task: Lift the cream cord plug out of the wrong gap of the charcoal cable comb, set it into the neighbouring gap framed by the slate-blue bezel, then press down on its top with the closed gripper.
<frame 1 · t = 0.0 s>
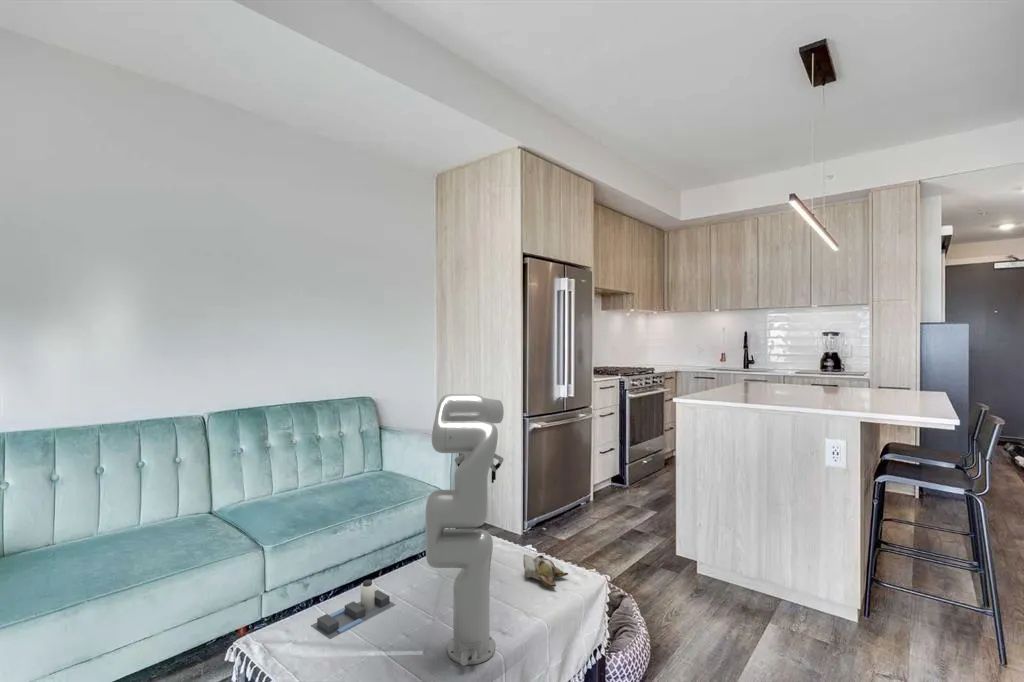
hand: (479, 481, 174), 31 cm above the table, fingers open, 9 cm apart
cord plug: (367, 608, 147), point 1 cm above the table, touching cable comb
ceramic sculpture: (542, 581, 167), on the table
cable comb: (354, 618, 144), on the table
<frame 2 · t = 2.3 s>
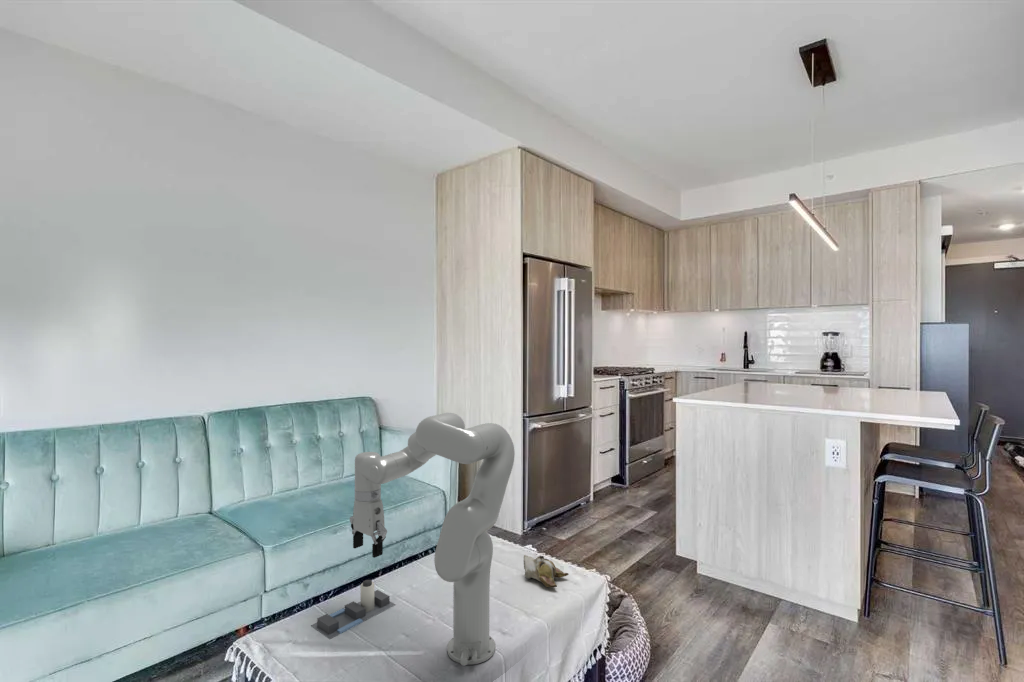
hand: (367, 551, 147), 18 cm above the table, fingers open, 9 cm apart
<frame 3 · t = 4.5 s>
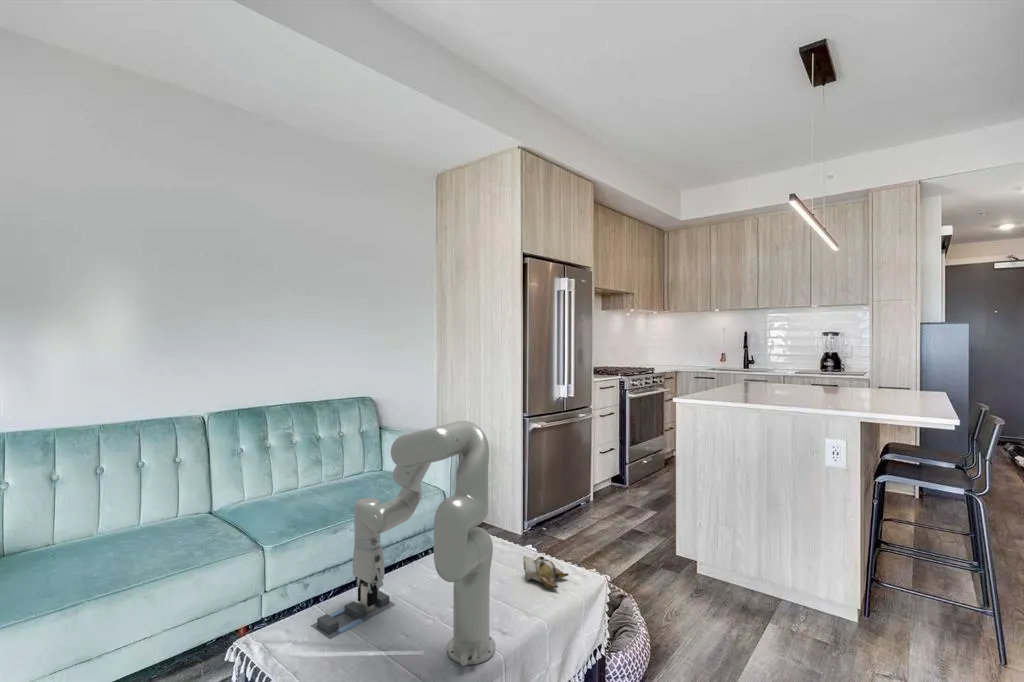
hand: (367, 601, 147), 3 cm above the table, fingers closed on cord plug, 4 cm apart
cord plug: (367, 608, 147), point 1 cm above the table, touching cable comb, gripper
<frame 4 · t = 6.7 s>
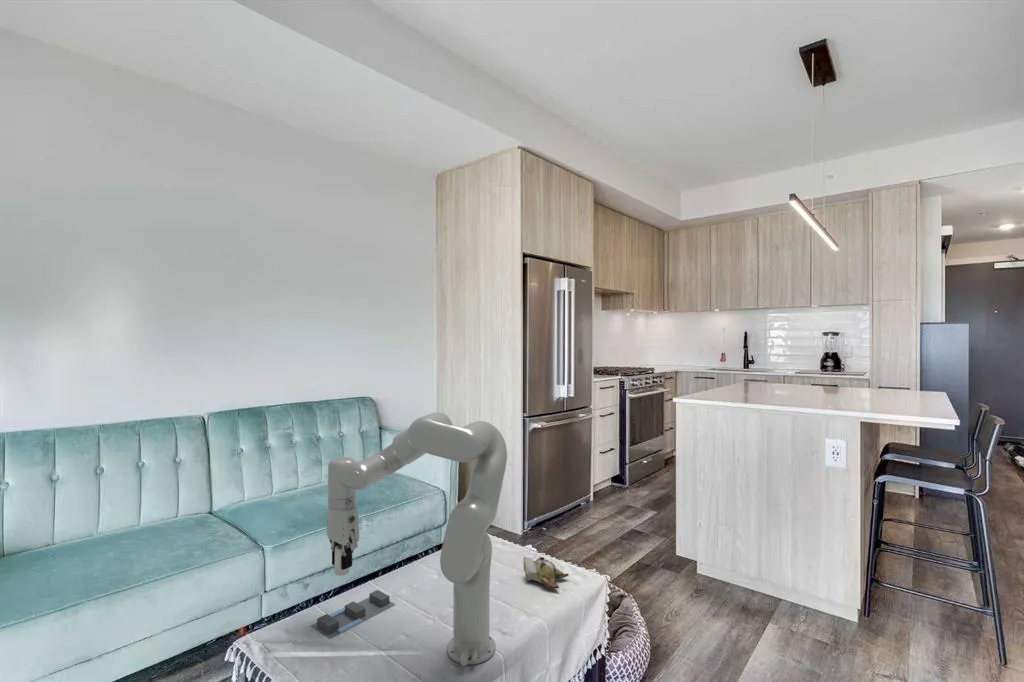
hand: (342, 564, 140), 17 cm above the table, fingers closed on cord plug, 4 cm apart
cord plug: (342, 572, 140), point 15 cm above the table, touching gripper
when the fingers open (5 cm above the table, at t = 9.3 s): cord plug drops 1 cm, resting on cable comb.
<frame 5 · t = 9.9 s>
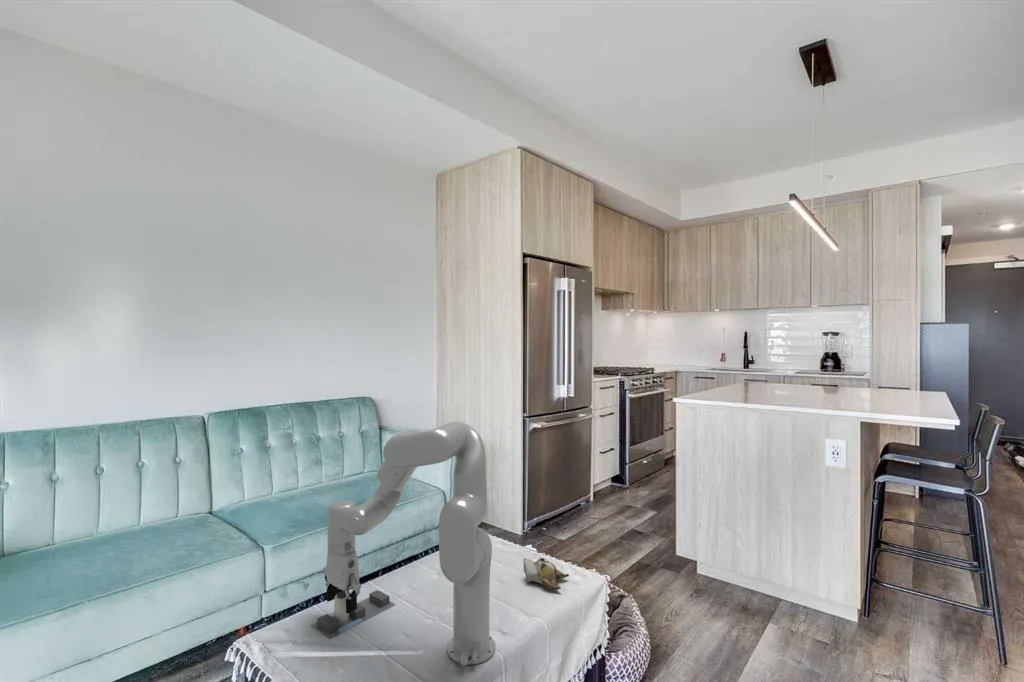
hand: (341, 605, 140), 6 cm above the table, fingers open, 9 cm apart
cord plug: (341, 621, 140), point 1 cm above the table, touching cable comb
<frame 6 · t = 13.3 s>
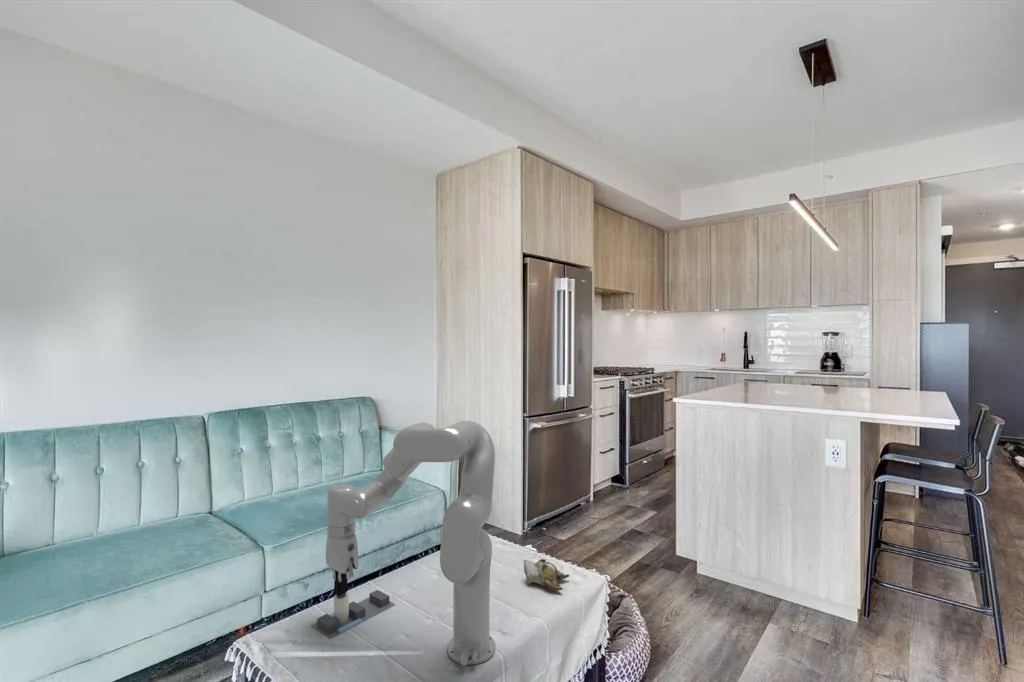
hand: (340, 592, 140), 9 cm above the table, fingers closed
cord plug: (341, 621, 140), point 1 cm above the table, touching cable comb, gripper
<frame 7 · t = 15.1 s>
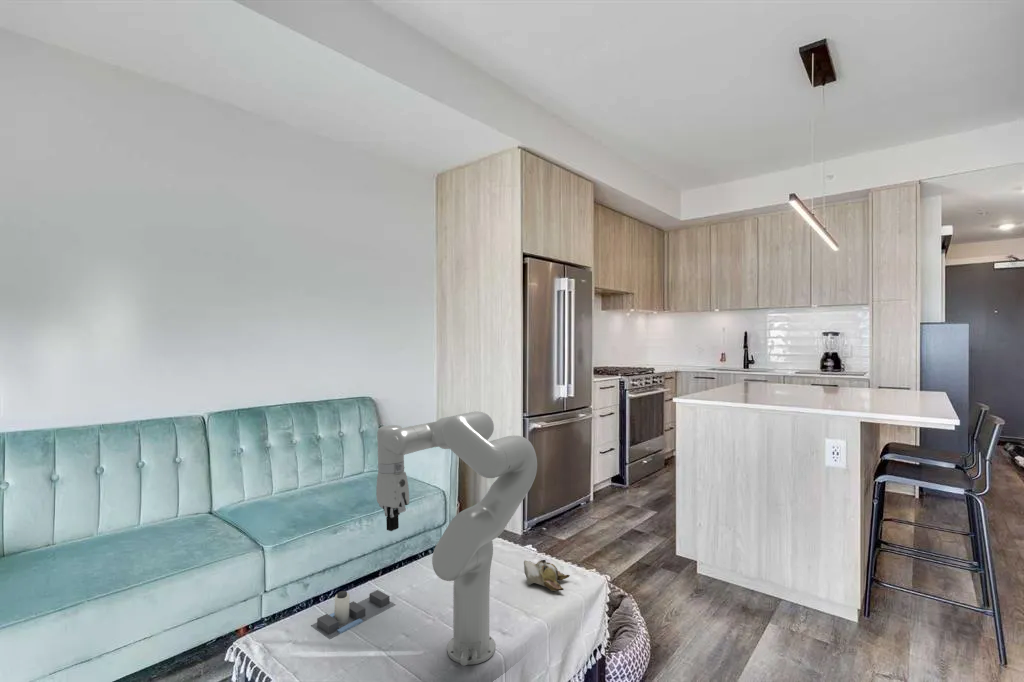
hand: (392, 529, 146), 25 cm above the table, fingers closed
cord plug: (341, 621, 140), point 1 cm above the table, touching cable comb
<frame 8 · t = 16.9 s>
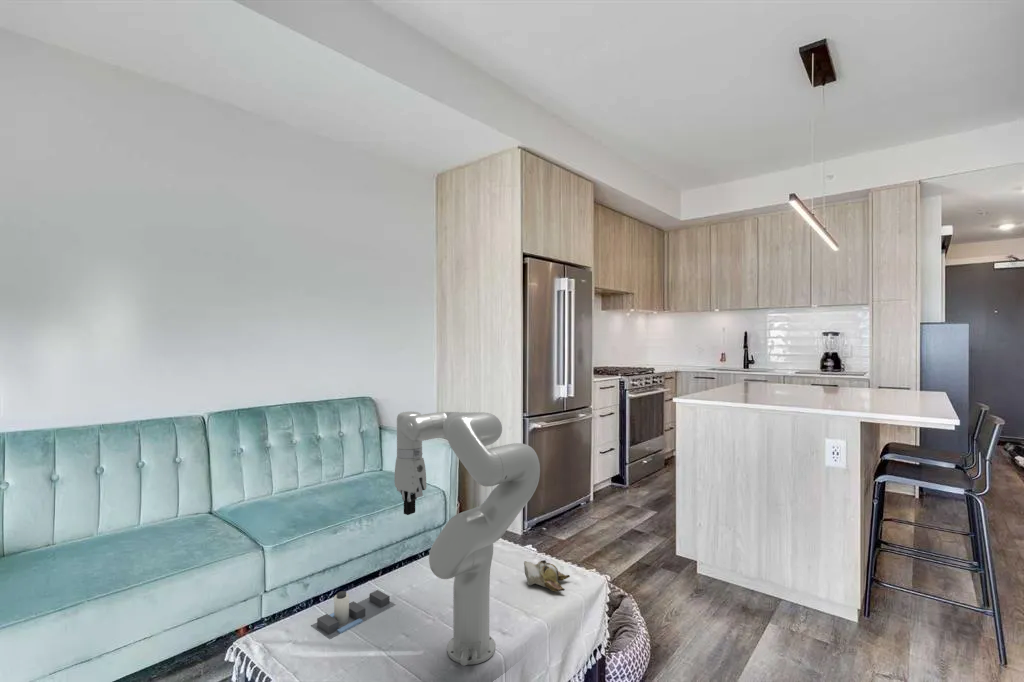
hand: (409, 513, 149), 29 cm above the table, fingers closed
at the end: cord plug 0.0 cm from the target spot on the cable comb, point 1.2 cm above the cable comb's base; cord plug tilted 1°; the gripper is holding nothing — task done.
